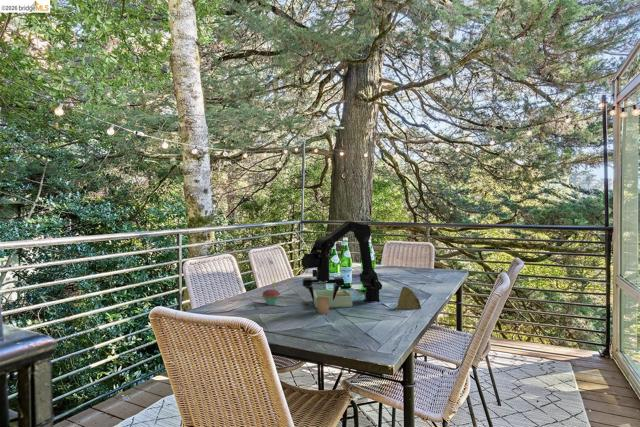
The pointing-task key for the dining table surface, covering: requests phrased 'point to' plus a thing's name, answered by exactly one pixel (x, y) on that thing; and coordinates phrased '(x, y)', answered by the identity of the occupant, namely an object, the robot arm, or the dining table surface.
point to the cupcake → (271, 296)
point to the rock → (408, 299)
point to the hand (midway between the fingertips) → (323, 300)
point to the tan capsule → (323, 304)
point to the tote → (337, 302)
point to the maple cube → (339, 293)
